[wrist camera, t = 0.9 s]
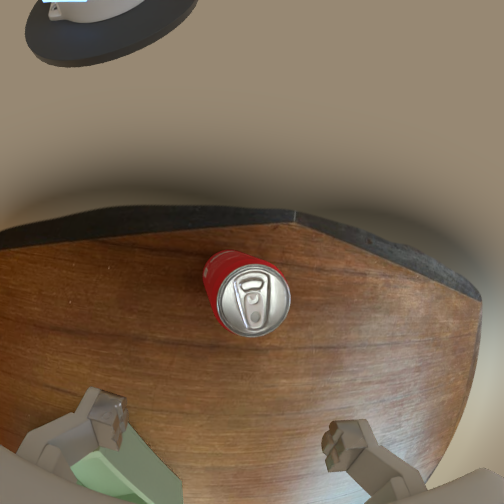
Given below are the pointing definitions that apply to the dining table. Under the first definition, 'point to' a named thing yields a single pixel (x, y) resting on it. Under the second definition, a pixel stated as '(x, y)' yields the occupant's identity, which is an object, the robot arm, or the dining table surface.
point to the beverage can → (246, 293)
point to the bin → (129, 473)
